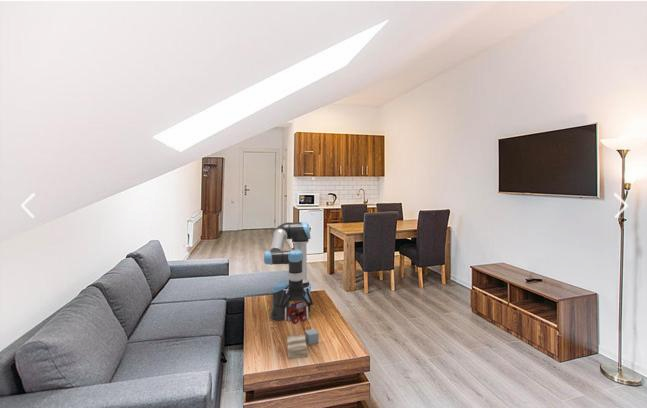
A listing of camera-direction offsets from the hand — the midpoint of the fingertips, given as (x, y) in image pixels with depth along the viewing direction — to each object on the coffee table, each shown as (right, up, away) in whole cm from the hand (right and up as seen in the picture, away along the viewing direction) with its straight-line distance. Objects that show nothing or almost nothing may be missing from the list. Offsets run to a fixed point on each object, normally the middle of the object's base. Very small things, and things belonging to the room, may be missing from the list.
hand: (296, 318), depth 168 cm
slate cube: (+8, -17, +10) cm, 22 cm away
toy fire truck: (0, -2, 0) cm, 2 cm away
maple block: (0, -18, +1) cm, 18 cm away
